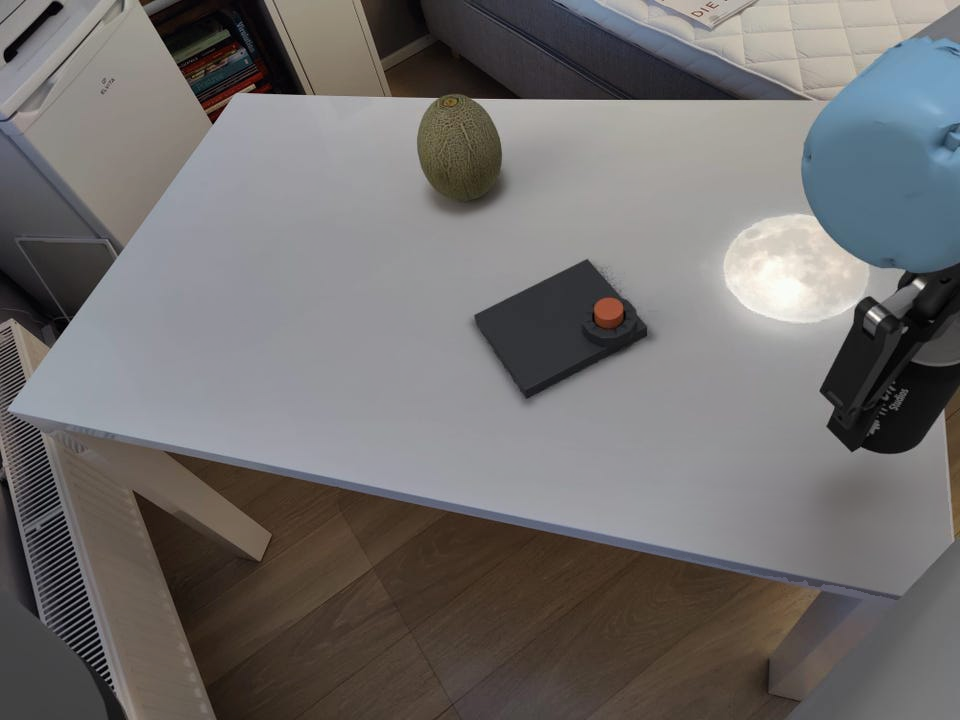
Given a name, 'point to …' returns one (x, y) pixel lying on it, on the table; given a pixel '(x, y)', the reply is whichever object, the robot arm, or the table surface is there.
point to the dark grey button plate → (556, 328)
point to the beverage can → (917, 395)
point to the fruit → (459, 148)
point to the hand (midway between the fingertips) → (880, 415)
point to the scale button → (608, 313)
